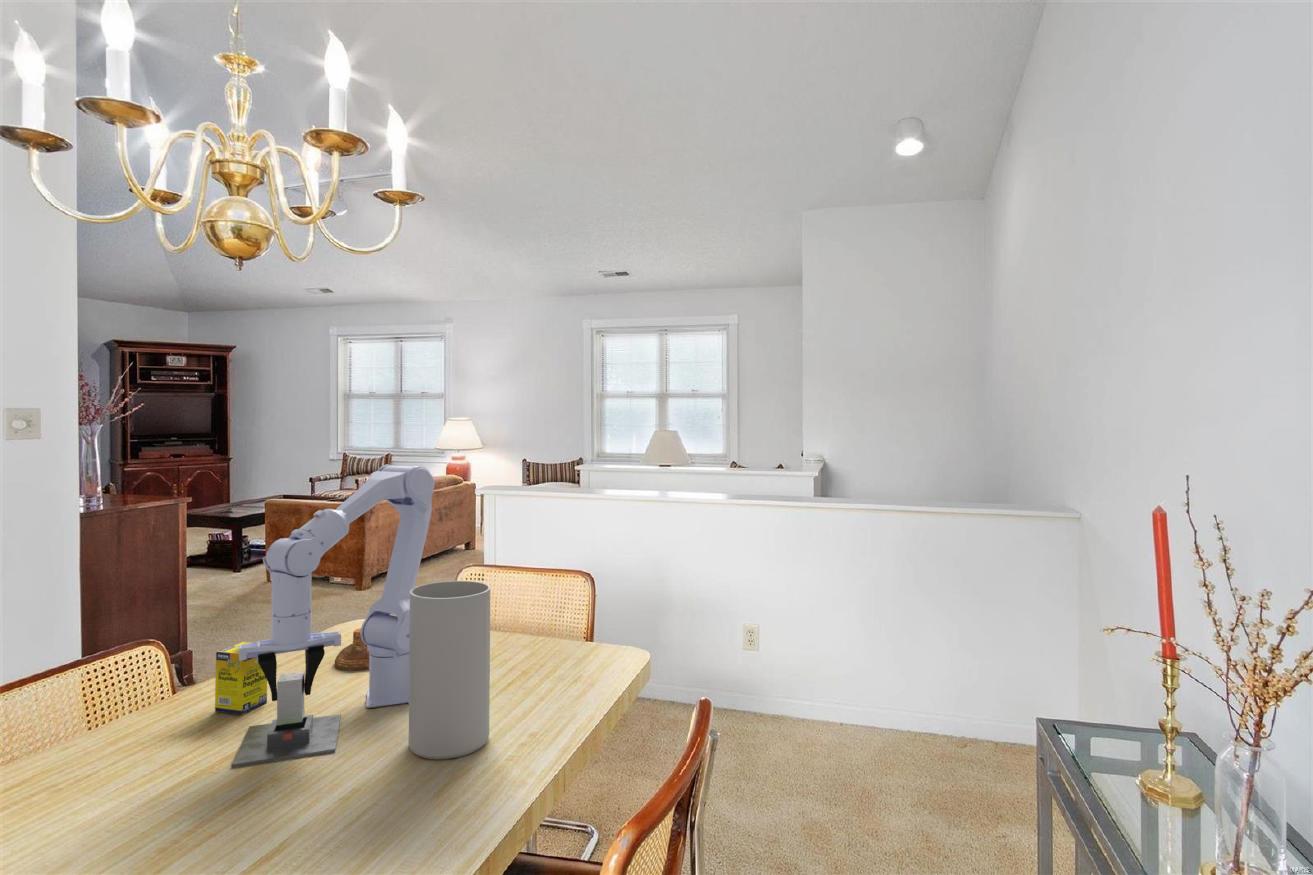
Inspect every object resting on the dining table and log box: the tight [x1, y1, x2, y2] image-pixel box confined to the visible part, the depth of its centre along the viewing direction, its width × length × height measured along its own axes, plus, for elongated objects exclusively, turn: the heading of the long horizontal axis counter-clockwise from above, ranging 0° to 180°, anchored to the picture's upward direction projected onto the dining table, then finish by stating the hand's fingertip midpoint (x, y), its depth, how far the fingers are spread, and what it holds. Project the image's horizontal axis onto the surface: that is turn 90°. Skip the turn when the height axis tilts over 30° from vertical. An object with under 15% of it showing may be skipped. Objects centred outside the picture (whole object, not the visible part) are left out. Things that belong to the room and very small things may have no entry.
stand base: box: [231, 713, 342, 768], centre depth 109 cm, size 14×14×3 cm
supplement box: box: [214, 641, 268, 716], centre depth 122 cm, size 6×6×11 cm
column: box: [276, 671, 306, 725], centre depth 109 cm, size 4×4×7 cm
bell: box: [334, 627, 370, 671], centre depth 147 cm, size 12×12×7 cm
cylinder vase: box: [408, 580, 491, 760], centre depth 109 cm, size 12×12×25 cm
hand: (291, 696), depth 109 cm, fingers closed on column, 4 cm apart
